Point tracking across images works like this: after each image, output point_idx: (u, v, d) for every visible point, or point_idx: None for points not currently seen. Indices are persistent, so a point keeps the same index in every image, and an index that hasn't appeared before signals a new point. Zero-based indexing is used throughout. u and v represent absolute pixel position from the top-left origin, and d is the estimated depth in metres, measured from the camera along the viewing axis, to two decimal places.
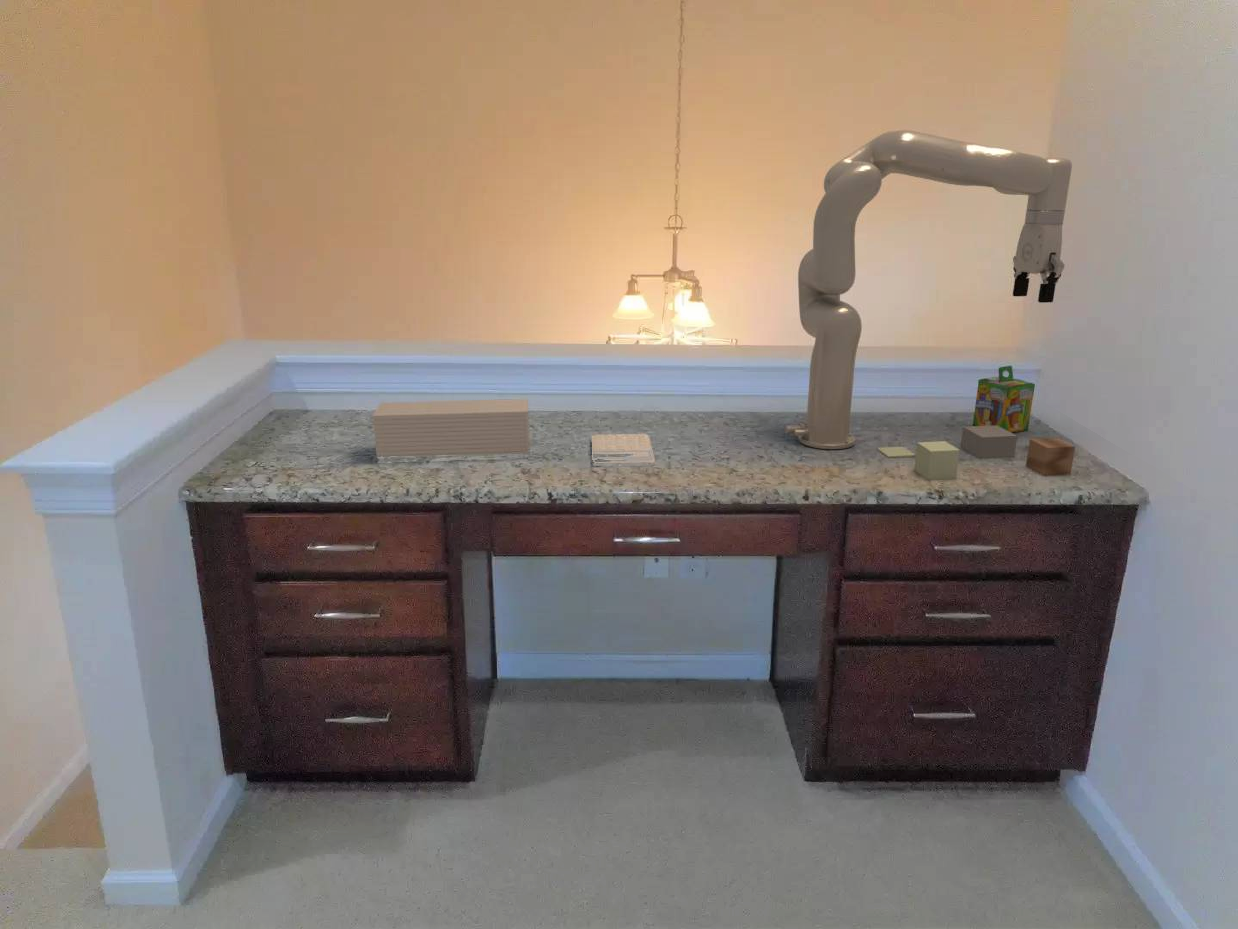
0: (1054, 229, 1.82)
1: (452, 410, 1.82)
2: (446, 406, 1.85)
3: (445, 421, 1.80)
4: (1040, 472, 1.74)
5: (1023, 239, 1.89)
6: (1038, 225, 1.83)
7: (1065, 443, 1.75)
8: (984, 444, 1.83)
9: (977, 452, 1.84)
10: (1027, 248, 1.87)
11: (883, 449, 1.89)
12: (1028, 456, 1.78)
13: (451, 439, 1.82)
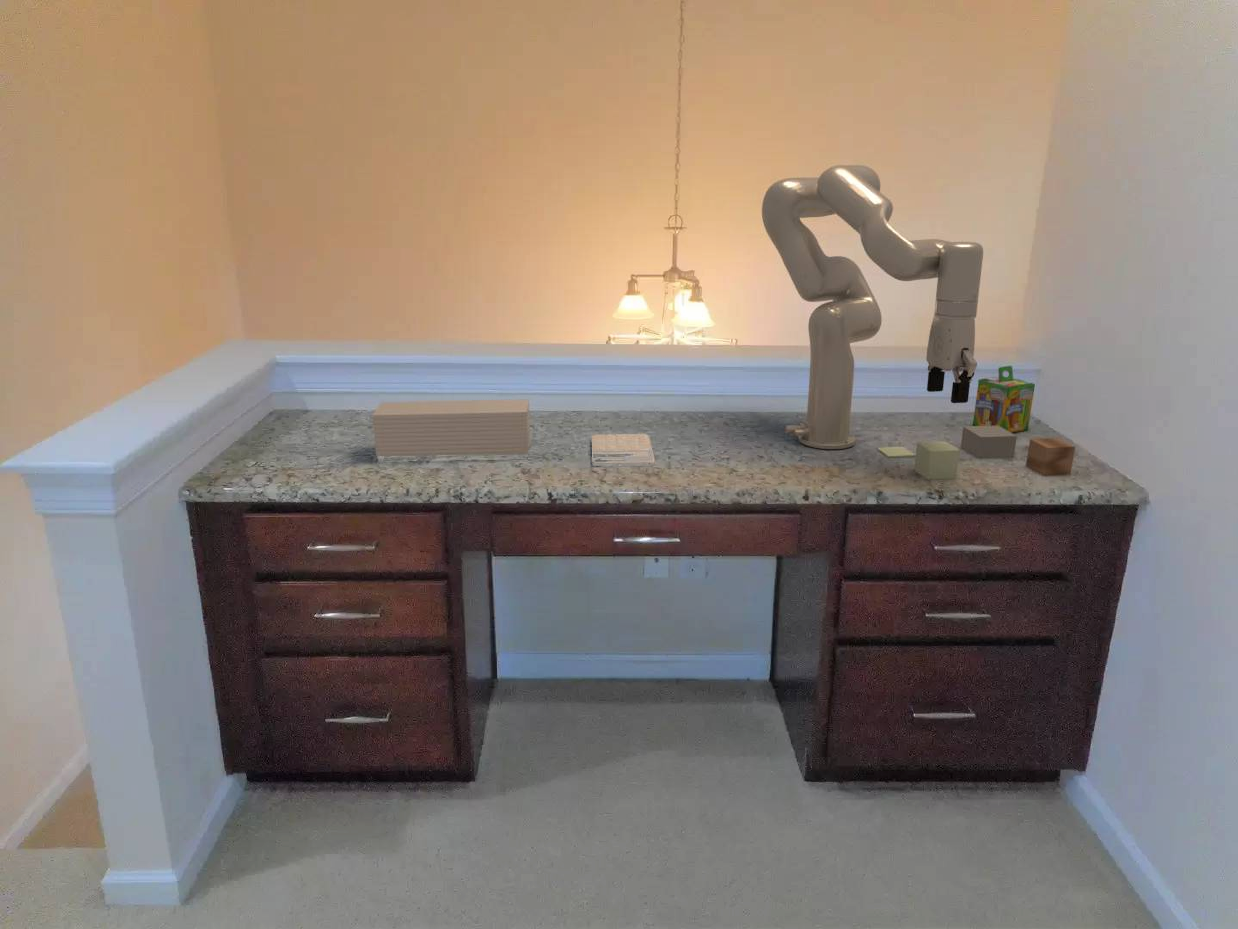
0: (965, 322, 1.60)
1: (451, 410, 1.82)
2: (446, 406, 1.85)
3: (444, 421, 1.80)
4: (1040, 472, 1.74)
5: (934, 331, 1.67)
6: (948, 317, 1.62)
7: (1065, 443, 1.75)
8: (983, 444, 1.83)
9: (976, 451, 1.85)
10: (938, 341, 1.66)
11: (883, 449, 1.89)
12: (1028, 456, 1.78)
13: (450, 439, 1.82)
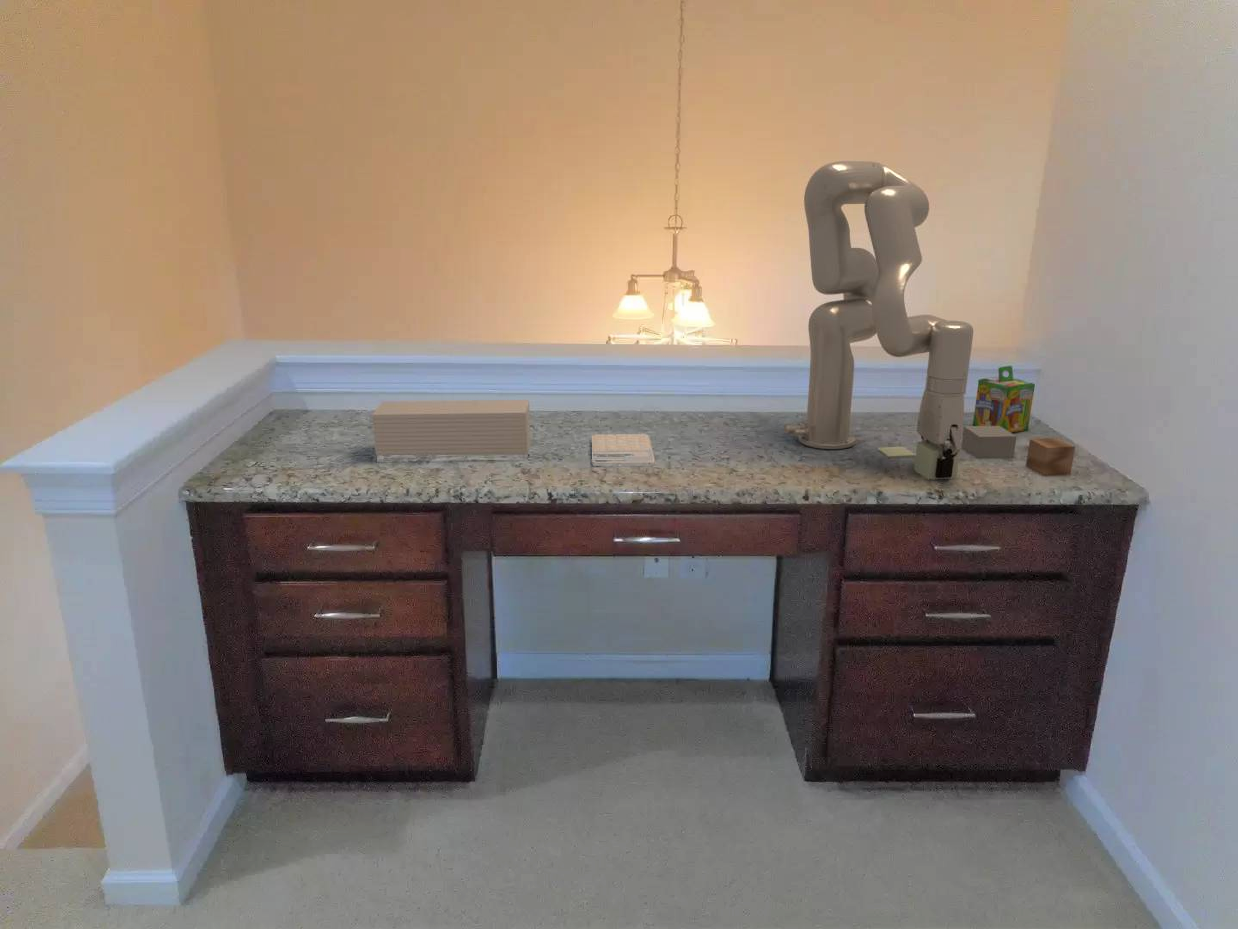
0: (954, 400, 1.65)
1: (451, 410, 1.82)
2: (446, 406, 1.85)
3: (443, 421, 1.80)
4: (1040, 472, 1.74)
5: (924, 404, 1.72)
6: (938, 394, 1.67)
7: (1065, 443, 1.75)
8: (982, 444, 1.83)
9: (975, 451, 1.85)
10: (928, 415, 1.71)
11: (883, 449, 1.89)
12: (1028, 456, 1.78)
13: (449, 439, 1.82)
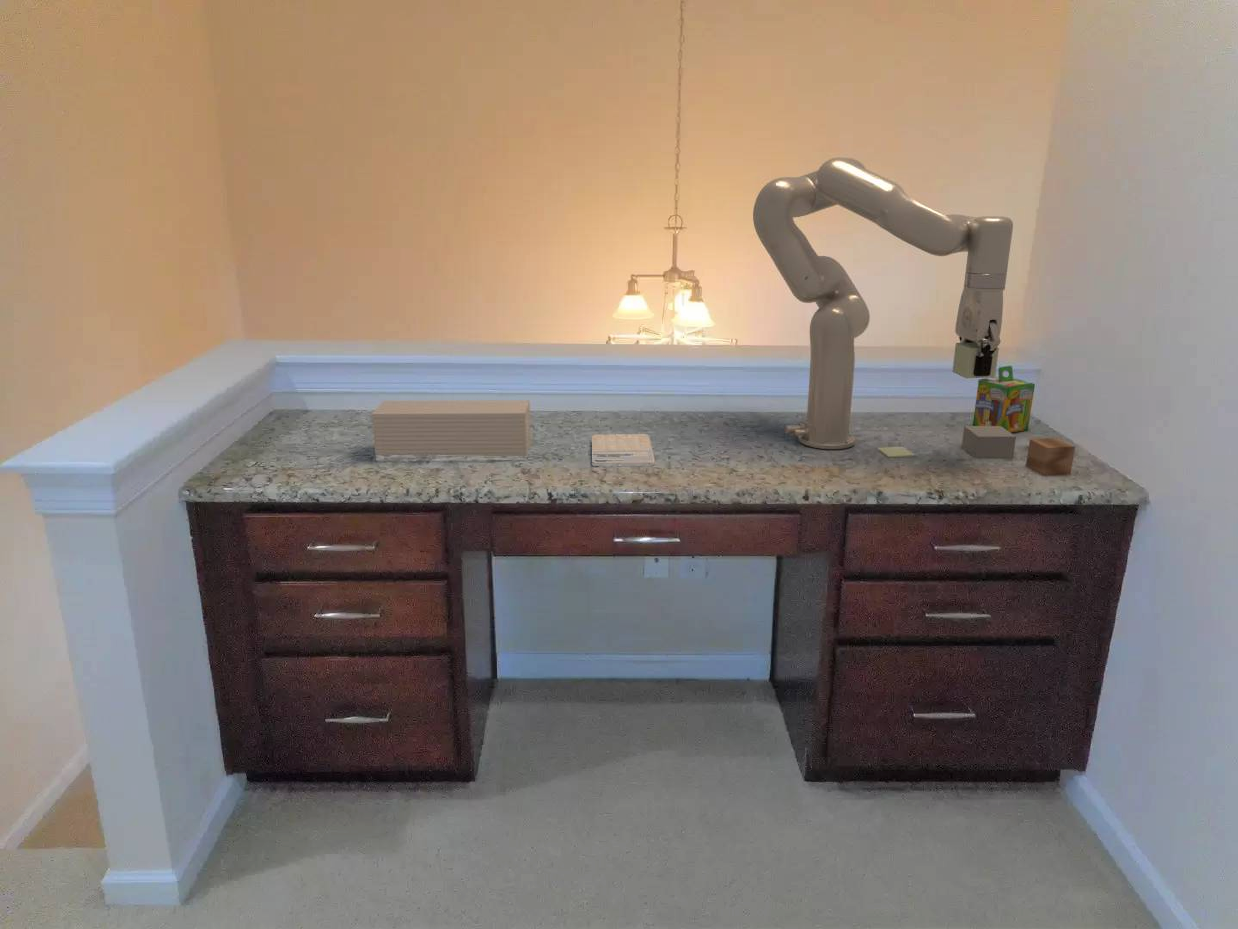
0: (993, 294, 1.65)
1: (450, 410, 1.82)
2: (446, 406, 1.85)
3: (443, 421, 1.80)
4: (1040, 472, 1.74)
5: (963, 303, 1.72)
6: (976, 289, 1.67)
7: (1065, 443, 1.75)
8: (981, 443, 1.84)
9: (974, 451, 1.85)
10: (967, 313, 1.71)
11: (883, 449, 1.89)
12: (1028, 456, 1.78)
13: (449, 439, 1.82)
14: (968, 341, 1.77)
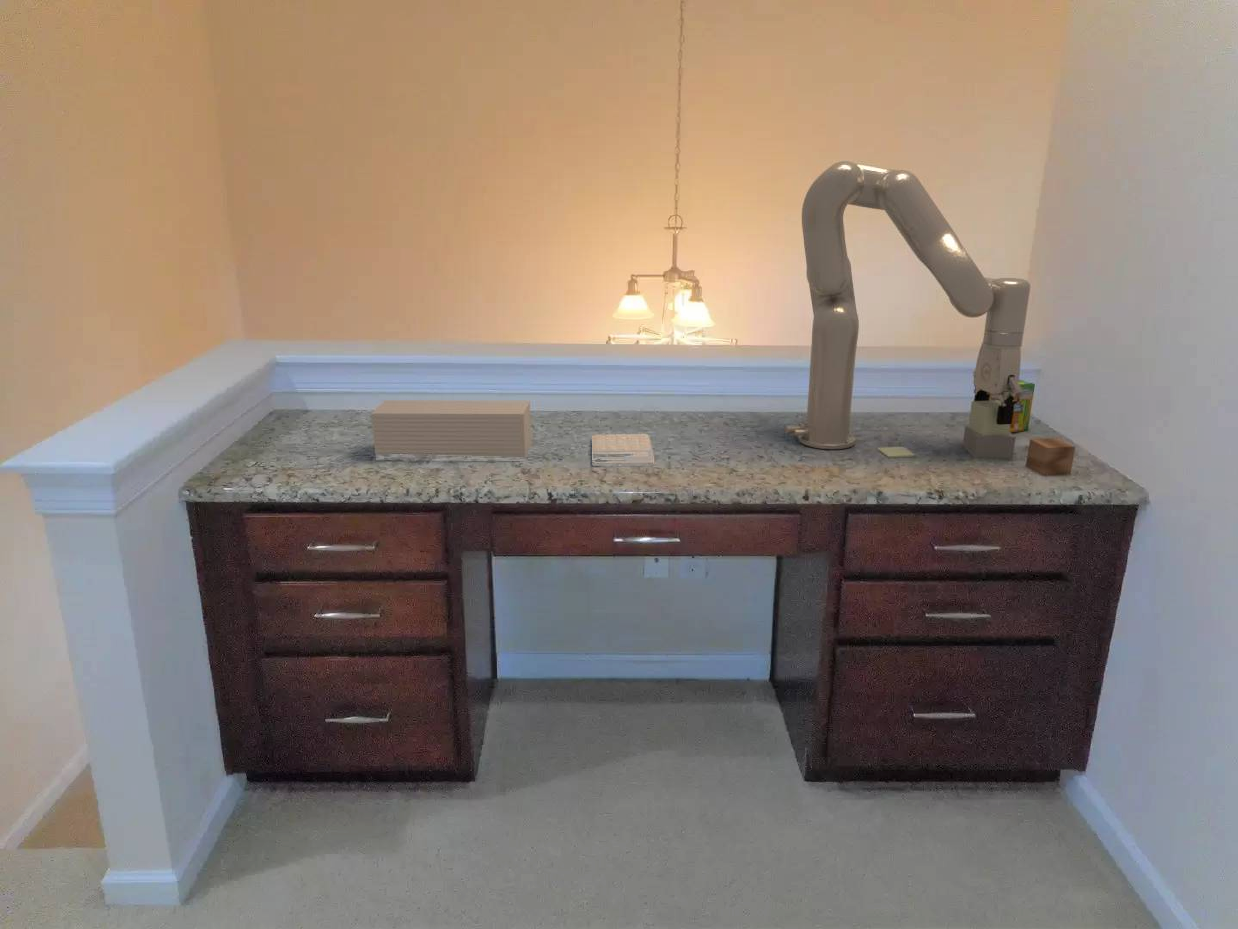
0: (1012, 352, 1.77)
1: (450, 410, 1.82)
2: (446, 406, 1.85)
3: (441, 421, 1.80)
4: (1040, 472, 1.74)
5: (982, 358, 1.83)
6: (996, 347, 1.78)
7: (1065, 443, 1.75)
8: (980, 443, 1.84)
9: (973, 451, 1.85)
10: (986, 367, 1.82)
11: (883, 449, 1.89)
12: (1028, 456, 1.78)
13: (447, 439, 1.82)
14: None
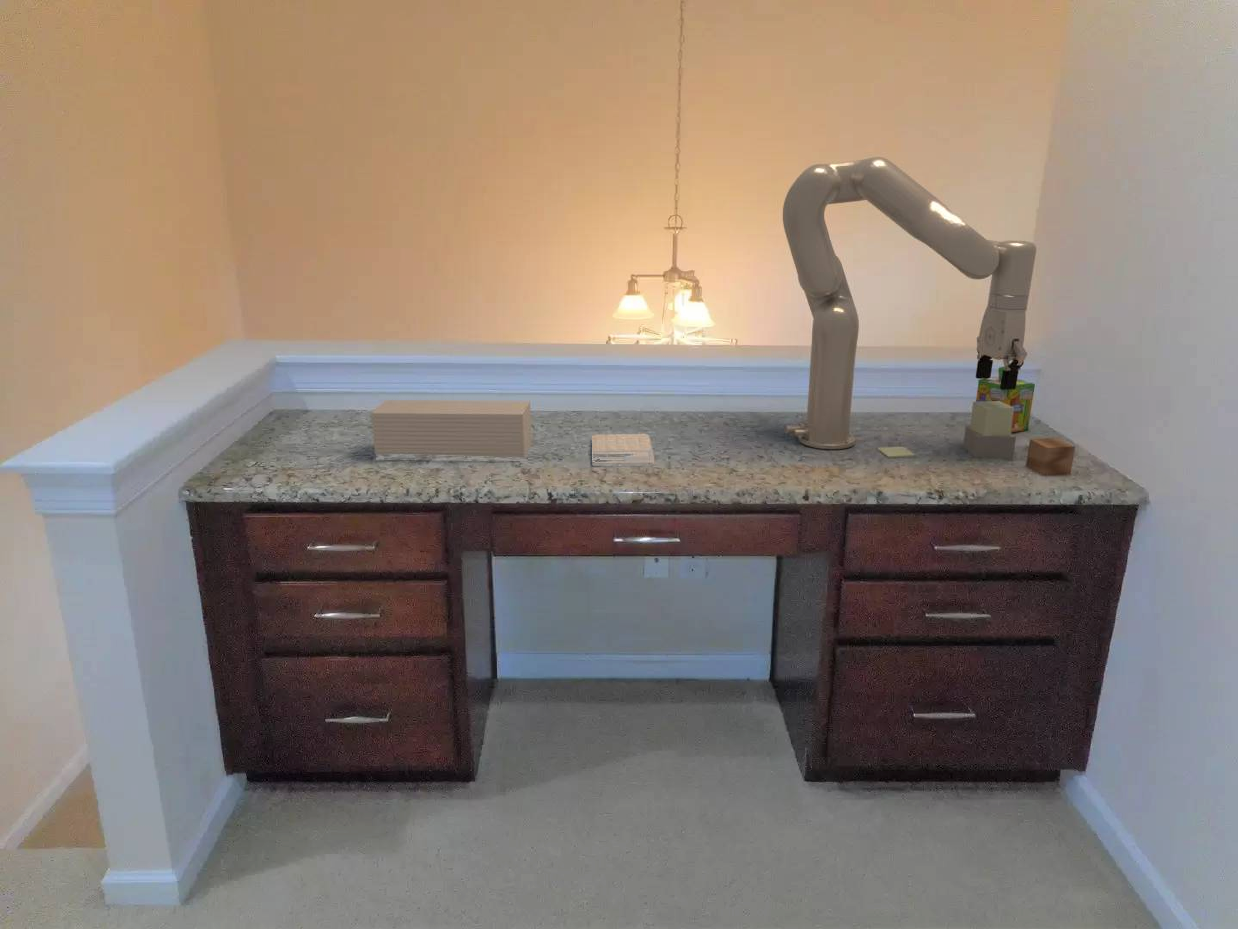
0: (1017, 315, 1.74)
1: (449, 410, 1.82)
2: (446, 406, 1.85)
3: (441, 421, 1.80)
4: (1040, 472, 1.74)
5: (986, 322, 1.81)
6: (1001, 310, 1.76)
7: (1065, 443, 1.75)
8: (980, 443, 1.84)
9: (973, 450, 1.85)
10: (990, 332, 1.80)
11: (883, 449, 1.89)
12: (1028, 456, 1.78)
13: (447, 439, 1.82)
14: None
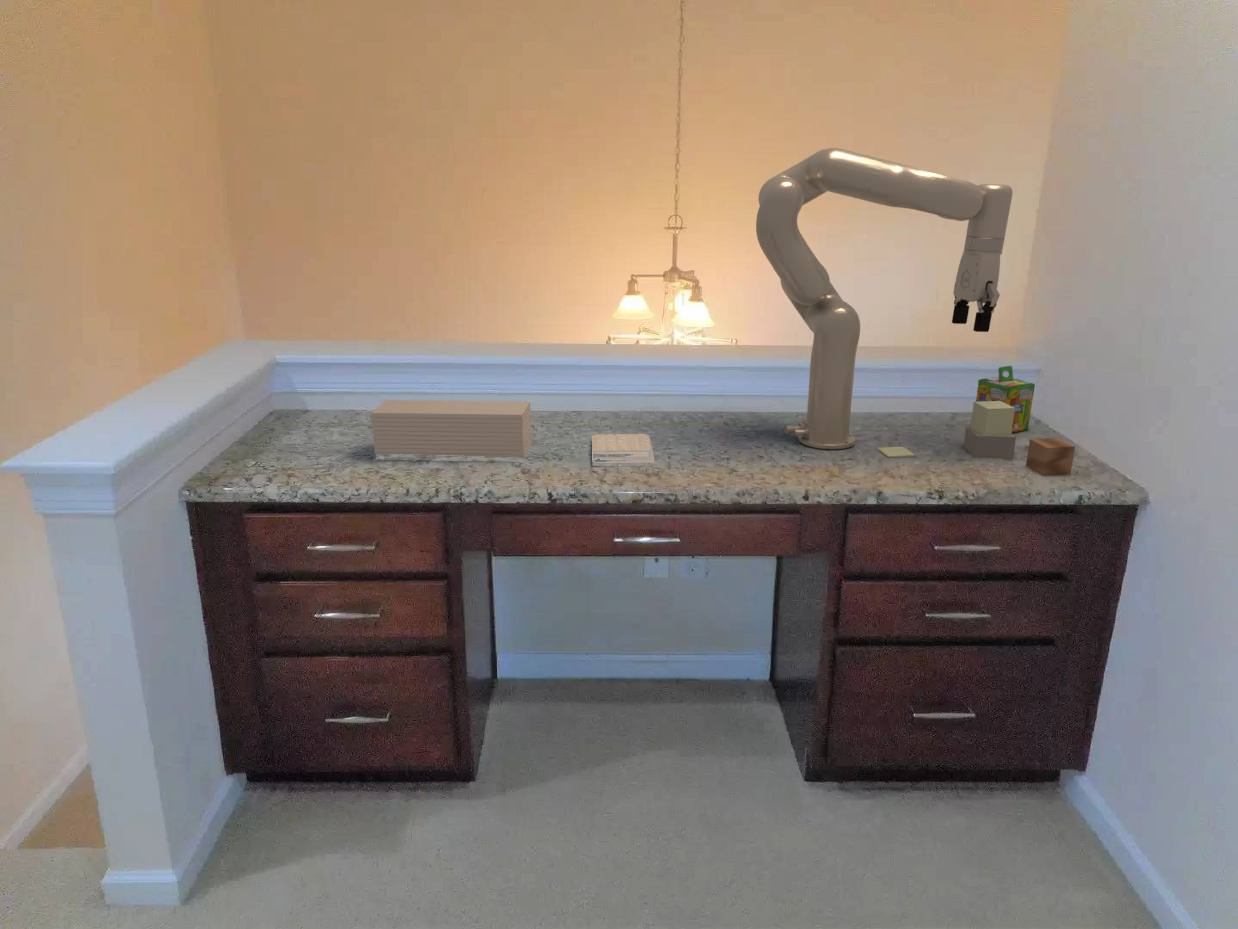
0: (991, 257, 1.77)
1: (449, 410, 1.82)
2: (446, 406, 1.85)
3: (441, 421, 1.80)
4: (1040, 472, 1.74)
5: (962, 266, 1.84)
6: (976, 252, 1.78)
7: (1065, 443, 1.75)
8: (980, 443, 1.84)
9: (973, 450, 1.85)
10: (965, 275, 1.82)
11: (883, 449, 1.89)
12: (1028, 456, 1.78)
13: (446, 439, 1.82)
14: None
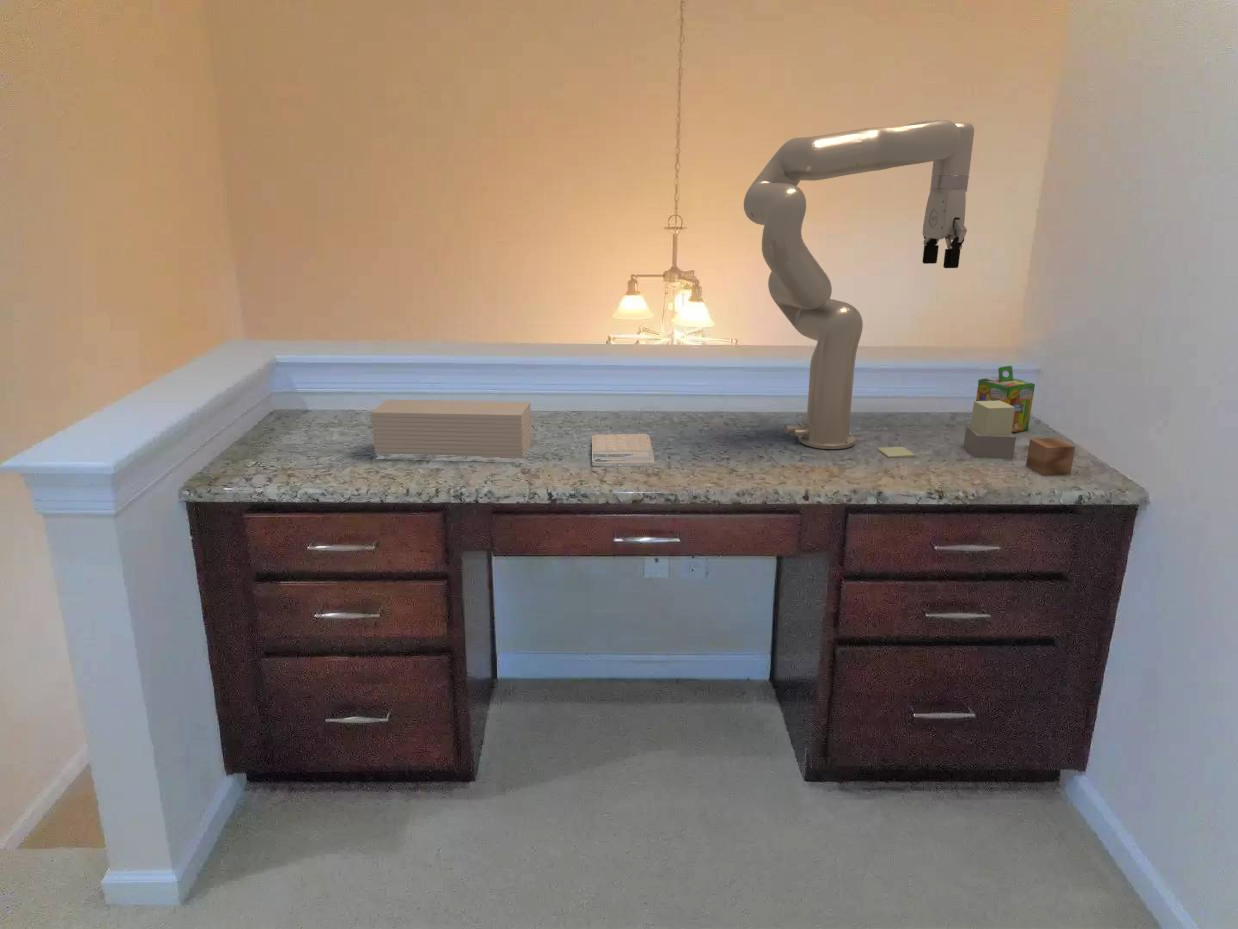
0: (957, 194, 1.82)
1: (449, 410, 1.82)
2: (446, 406, 1.85)
3: (440, 421, 1.80)
4: (1040, 472, 1.74)
5: (929, 205, 1.89)
6: (942, 190, 1.83)
7: (1065, 443, 1.75)
8: (980, 443, 1.84)
9: (973, 450, 1.85)
10: (933, 214, 1.87)
11: (883, 449, 1.89)
12: (1028, 456, 1.78)
13: (446, 439, 1.82)
14: (931, 238, 1.95)
